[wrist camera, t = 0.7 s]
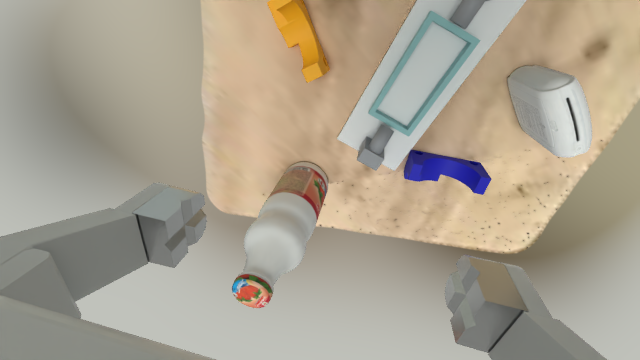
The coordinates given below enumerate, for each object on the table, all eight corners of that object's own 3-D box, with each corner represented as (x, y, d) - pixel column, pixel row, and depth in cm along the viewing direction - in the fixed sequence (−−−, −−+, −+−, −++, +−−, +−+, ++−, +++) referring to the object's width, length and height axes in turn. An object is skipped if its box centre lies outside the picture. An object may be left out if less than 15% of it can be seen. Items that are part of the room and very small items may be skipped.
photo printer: (551, 121, 42) (607, 154, 31) (520, 133, 44) (563, 168, 33) (535, 59, 39) (592, 72, 28) (501, 75, 40) (543, 92, 30)
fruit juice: (297, 151, 53) (227, 254, 30) (337, 176, 54) (301, 295, 31) (277, 184, 58) (204, 295, 35) (315, 207, 59) (268, 330, 35)
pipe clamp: (274, 4, 42) (258, 0, 36) (299, -11, 40) (285, -16, 35) (307, 80, 46) (296, 87, 41) (330, 69, 45) (322, 75, 39)
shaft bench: (449, -58, 34) (463, -75, 28) (528, -8, 35) (558, -15, 29) (338, 136, 50) (331, 151, 44) (394, 167, 51) (395, 186, 45)
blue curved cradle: (403, 170, 51) (405, 187, 46) (410, 149, 49) (413, 163, 44) (469, 183, 50) (479, 202, 45) (479, 162, 47) (491, 178, 42)
